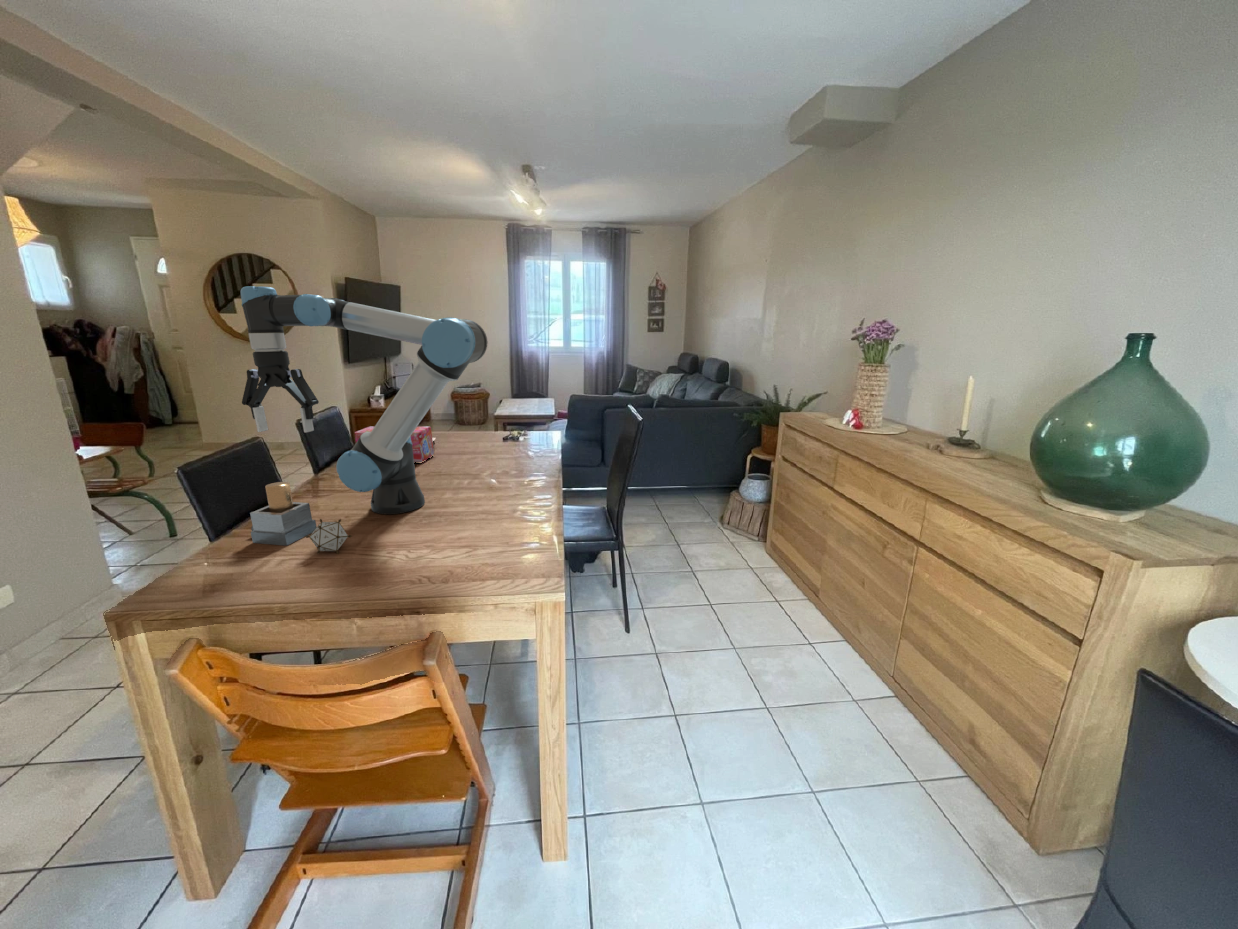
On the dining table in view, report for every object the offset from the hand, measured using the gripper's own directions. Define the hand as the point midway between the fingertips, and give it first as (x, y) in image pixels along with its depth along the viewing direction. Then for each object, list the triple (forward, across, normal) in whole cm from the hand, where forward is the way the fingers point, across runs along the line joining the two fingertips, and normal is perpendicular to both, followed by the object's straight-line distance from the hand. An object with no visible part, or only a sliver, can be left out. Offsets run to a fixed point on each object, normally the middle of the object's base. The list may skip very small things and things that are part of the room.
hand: (286, 431), depth 131 cm
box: (+26, +12, -68) cm, 74 cm away
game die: (+27, -21, +17) cm, 38 cm away
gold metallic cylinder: (+23, -2, +9) cm, 25 cm away
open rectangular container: (+26, -1, +10) cm, 28 cm away
